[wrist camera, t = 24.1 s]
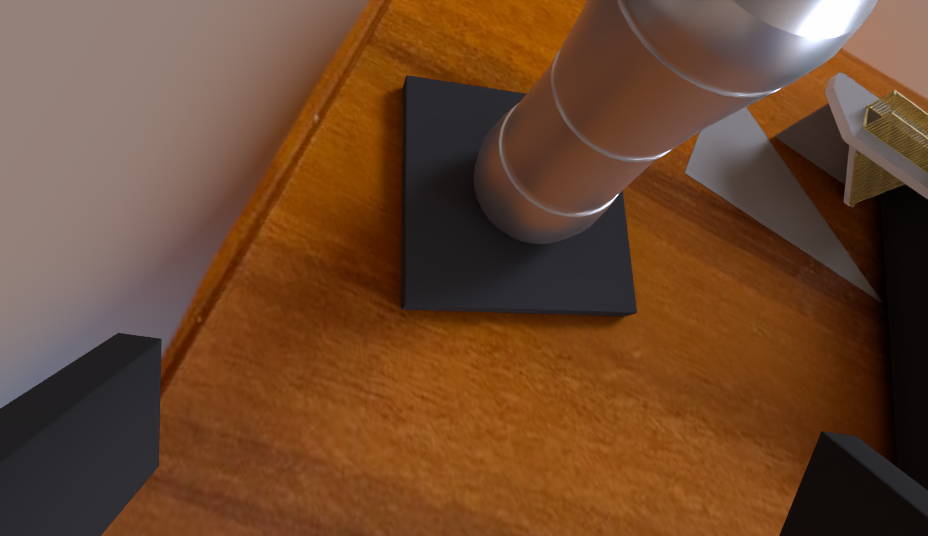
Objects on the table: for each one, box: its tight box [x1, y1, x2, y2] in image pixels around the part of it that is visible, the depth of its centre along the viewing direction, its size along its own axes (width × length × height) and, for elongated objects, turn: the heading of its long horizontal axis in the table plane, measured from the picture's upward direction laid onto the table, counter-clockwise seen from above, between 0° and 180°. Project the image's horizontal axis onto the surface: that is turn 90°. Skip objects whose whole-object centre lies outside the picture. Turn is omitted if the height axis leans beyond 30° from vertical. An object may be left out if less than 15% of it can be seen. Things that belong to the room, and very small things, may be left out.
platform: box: [685, 73, 928, 303], centre depth 31 cm, size 12×18×7 cm, turn 62°
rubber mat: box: [401, 75, 637, 316], centre depth 27 cm, size 12×12×1 cm
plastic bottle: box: [474, 0, 877, 244], centre depth 17 cm, size 6×7×20 cm
